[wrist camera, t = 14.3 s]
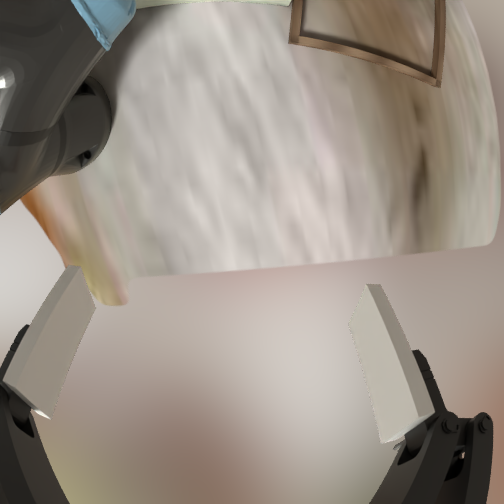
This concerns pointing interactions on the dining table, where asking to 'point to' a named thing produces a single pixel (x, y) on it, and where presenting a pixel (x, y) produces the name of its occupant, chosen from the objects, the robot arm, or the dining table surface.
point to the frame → (333, 47)
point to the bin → (157, 0)
